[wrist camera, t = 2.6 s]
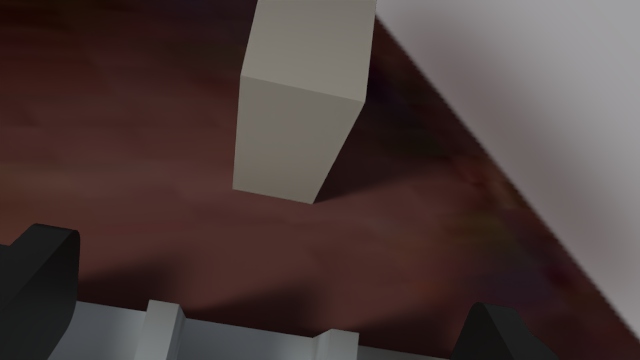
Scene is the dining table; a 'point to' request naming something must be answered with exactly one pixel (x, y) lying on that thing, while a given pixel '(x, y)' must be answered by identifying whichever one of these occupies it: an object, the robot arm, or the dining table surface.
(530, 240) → the dining table surface
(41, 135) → the dining table surface
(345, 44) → the clay bar
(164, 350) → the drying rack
